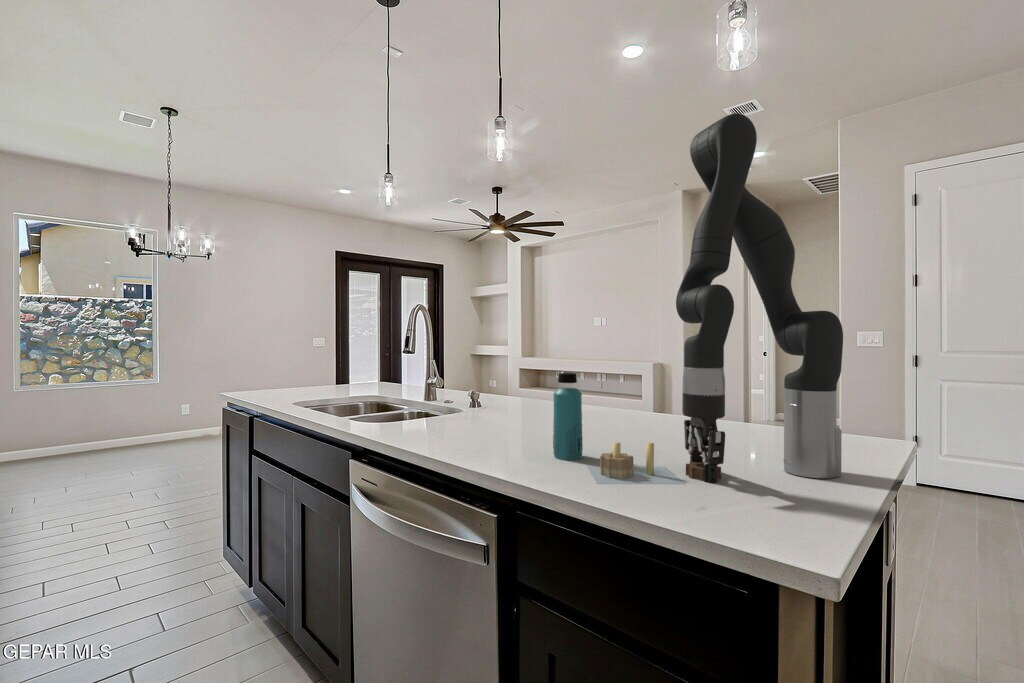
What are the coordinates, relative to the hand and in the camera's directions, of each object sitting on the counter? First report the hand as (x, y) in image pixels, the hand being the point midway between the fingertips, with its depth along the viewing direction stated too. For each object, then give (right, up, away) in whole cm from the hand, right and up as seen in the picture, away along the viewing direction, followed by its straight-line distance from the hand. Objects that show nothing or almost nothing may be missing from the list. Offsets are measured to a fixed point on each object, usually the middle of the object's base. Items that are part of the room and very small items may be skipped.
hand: (702, 479), depth 92 cm
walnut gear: (0, -1, 0) cm, 1 cm away
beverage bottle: (-24, -1, +15) cm, 28 cm away
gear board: (-13, -1, +1) cm, 13 cm away
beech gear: (-16, +1, +1) cm, 16 cm away
